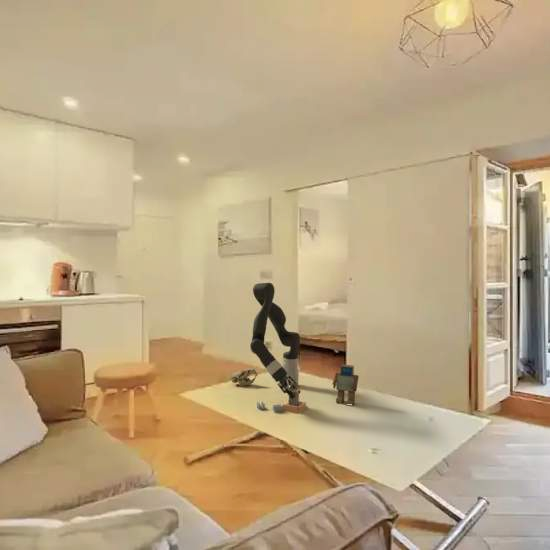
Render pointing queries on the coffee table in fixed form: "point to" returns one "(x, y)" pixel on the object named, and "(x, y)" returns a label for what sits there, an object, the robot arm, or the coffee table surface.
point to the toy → (346, 383)
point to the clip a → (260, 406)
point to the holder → (294, 407)
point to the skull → (243, 377)
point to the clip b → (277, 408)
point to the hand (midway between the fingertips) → (296, 395)
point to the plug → (296, 399)
